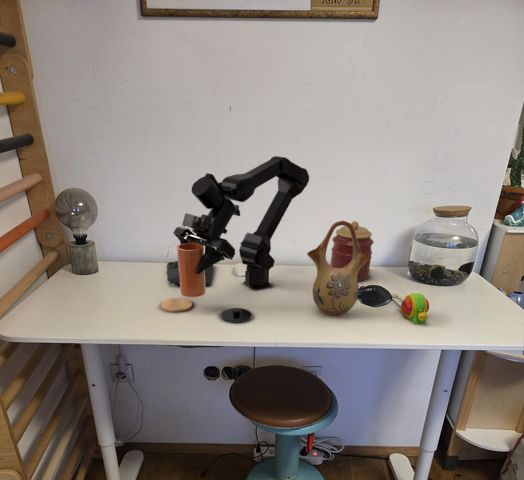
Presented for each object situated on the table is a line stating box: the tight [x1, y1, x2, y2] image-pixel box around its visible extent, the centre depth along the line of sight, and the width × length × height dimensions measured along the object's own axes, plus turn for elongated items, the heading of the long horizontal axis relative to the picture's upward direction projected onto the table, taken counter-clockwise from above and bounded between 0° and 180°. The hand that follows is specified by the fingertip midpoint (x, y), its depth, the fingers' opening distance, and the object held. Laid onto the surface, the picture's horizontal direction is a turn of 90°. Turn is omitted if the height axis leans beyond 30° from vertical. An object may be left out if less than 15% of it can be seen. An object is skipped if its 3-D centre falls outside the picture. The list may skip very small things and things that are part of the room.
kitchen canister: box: [329, 220, 375, 282], centre depth 149 cm, size 13×13×18 cm
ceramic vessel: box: [306, 220, 372, 317], centre depth 121 cm, size 16×9×25 cm, turn 85°
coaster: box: [160, 297, 193, 313], centre depth 129 cm, size 8×8×1 cm
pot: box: [176, 243, 207, 298], centre depth 122 cm, size 7×7×12 cm
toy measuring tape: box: [390, 292, 430, 324], centre depth 128 cm, size 6×19×7 cm, turn 9°
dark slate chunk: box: [166, 260, 214, 287], centre depth 149 cm, size 15×22×5 cm
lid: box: [220, 307, 252, 324], centre depth 123 cm, size 8×8×2 cm
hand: (187, 270), depth 121 cm, fingers closed on pot, 7 cm apart
